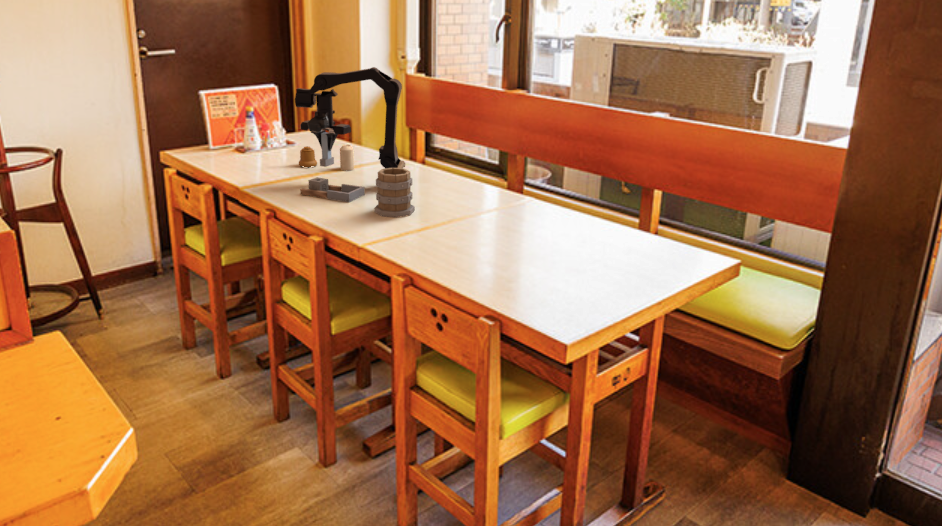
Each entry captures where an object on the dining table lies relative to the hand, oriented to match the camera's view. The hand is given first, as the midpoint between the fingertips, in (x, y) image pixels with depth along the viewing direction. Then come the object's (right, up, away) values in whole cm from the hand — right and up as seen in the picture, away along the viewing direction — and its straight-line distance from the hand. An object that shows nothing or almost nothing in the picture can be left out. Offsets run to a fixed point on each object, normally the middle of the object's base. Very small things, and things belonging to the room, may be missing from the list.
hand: (326, 150), depth 280 cm
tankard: (+29, -24, -22) cm, 43 cm away
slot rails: (-1, -17, -7) cm, 18 cm away
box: (+9, -18, -11) cm, 23 cm away
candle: (+3, -4, +27) cm, 27 cm away
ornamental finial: (-13, -2, +30) cm, 33 cm away
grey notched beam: (0, -5, +2) cm, 6 cm away
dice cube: (-1, -17, -7) cm, 18 cm away
